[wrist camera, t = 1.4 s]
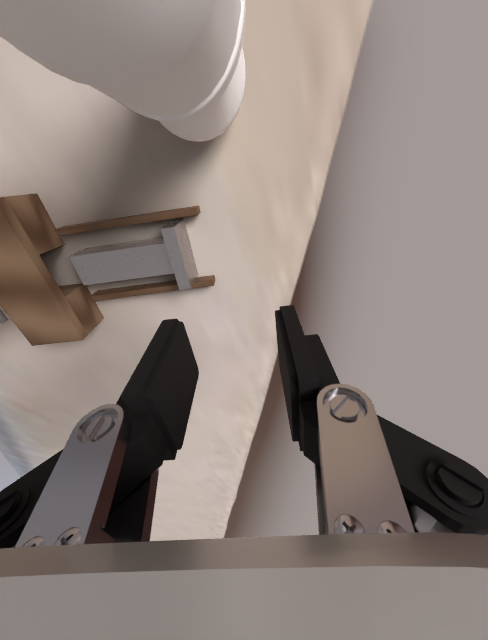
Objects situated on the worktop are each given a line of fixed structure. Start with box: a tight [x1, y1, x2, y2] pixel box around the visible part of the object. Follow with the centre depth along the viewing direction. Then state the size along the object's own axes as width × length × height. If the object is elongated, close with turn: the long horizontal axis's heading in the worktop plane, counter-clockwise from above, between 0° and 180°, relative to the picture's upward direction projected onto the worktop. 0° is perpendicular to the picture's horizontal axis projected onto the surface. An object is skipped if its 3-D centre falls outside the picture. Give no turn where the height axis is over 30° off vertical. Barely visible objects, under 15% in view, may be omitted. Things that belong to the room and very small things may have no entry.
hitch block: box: [0, 194, 215, 346], centre depth 24 cm, size 14×21×5 cm, turn 98°
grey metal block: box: [69, 219, 198, 290], centre depth 24 cm, size 11×6×4 cm, turn 98°
